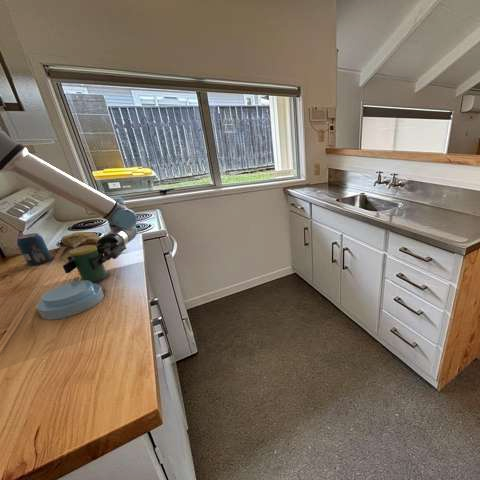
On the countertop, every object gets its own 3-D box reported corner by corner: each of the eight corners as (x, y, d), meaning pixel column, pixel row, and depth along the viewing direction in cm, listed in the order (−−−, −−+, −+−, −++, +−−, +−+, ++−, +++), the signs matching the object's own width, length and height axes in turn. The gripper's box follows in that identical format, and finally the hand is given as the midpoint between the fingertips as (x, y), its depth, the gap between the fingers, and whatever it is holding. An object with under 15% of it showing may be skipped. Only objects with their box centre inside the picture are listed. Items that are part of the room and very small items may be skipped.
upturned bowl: (34, 326, 67) (26, 311, 65) (47, 301, 78) (40, 287, 76) (102, 306, 74) (96, 292, 73) (105, 286, 85) (100, 273, 83)
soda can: (42, 259, 107) (29, 232, 103) (57, 259, 107) (45, 232, 102) (23, 267, 101) (9, 239, 96) (40, 267, 100) (26, 238, 96)
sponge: (107, 249, 119) (97, 232, 130) (97, 236, 114) (89, 219, 125) (71, 263, 111) (65, 243, 123) (60, 249, 106) (54, 230, 118)
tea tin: (80, 285, 84) (67, 254, 80) (83, 277, 89) (71, 248, 85) (106, 278, 88) (95, 249, 84) (108, 271, 93) (97, 243, 89)
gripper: (143, 247, 106) (118, 273, 85) (88, 253, 102) (47, 282, 81) (137, 230, 103) (110, 252, 83) (80, 236, 99) (36, 261, 78)
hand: (79, 267), depth 82 cm, fingers closed on tea tin, 7 cm apart
